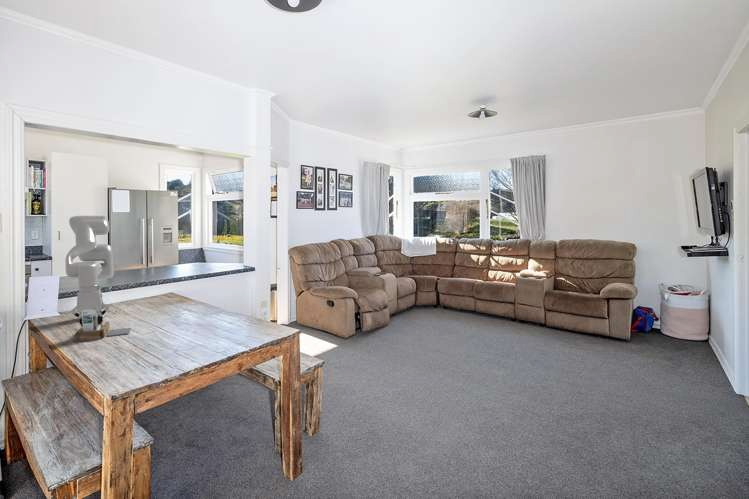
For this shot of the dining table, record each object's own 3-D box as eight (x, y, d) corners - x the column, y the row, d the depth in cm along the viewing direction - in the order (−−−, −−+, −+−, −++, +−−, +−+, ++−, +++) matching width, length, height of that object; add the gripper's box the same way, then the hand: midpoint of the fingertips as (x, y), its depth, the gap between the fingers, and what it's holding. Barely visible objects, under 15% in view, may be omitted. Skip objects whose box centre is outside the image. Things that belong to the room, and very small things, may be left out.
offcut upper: (88, 327, 196) (88, 323, 195) (102, 325, 199) (102, 321, 198) (86, 329, 192) (86, 325, 191) (101, 327, 195) (101, 324, 194)
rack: (83, 332, 196) (83, 324, 196) (109, 329, 201) (108, 321, 201) (75, 341, 182) (75, 333, 182) (103, 338, 187) (103, 330, 187)
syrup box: (83, 339, 186) (80, 309, 184) (88, 335, 191) (86, 306, 190) (96, 338, 187) (94, 308, 186) (101, 334, 193) (99, 306, 192)
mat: (110, 331, 198) (110, 330, 198) (130, 328, 202) (130, 327, 202) (107, 336, 189) (107, 335, 189) (128, 334, 193) (128, 332, 193)
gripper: (111, 286, 194) (113, 320, 196) (68, 289, 187) (71, 325, 188) (108, 288, 188) (111, 324, 189) (64, 292, 180) (67, 329, 182)
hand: (91, 324), depth 189 cm, fingers closed on syrup box, 6 cm apart
